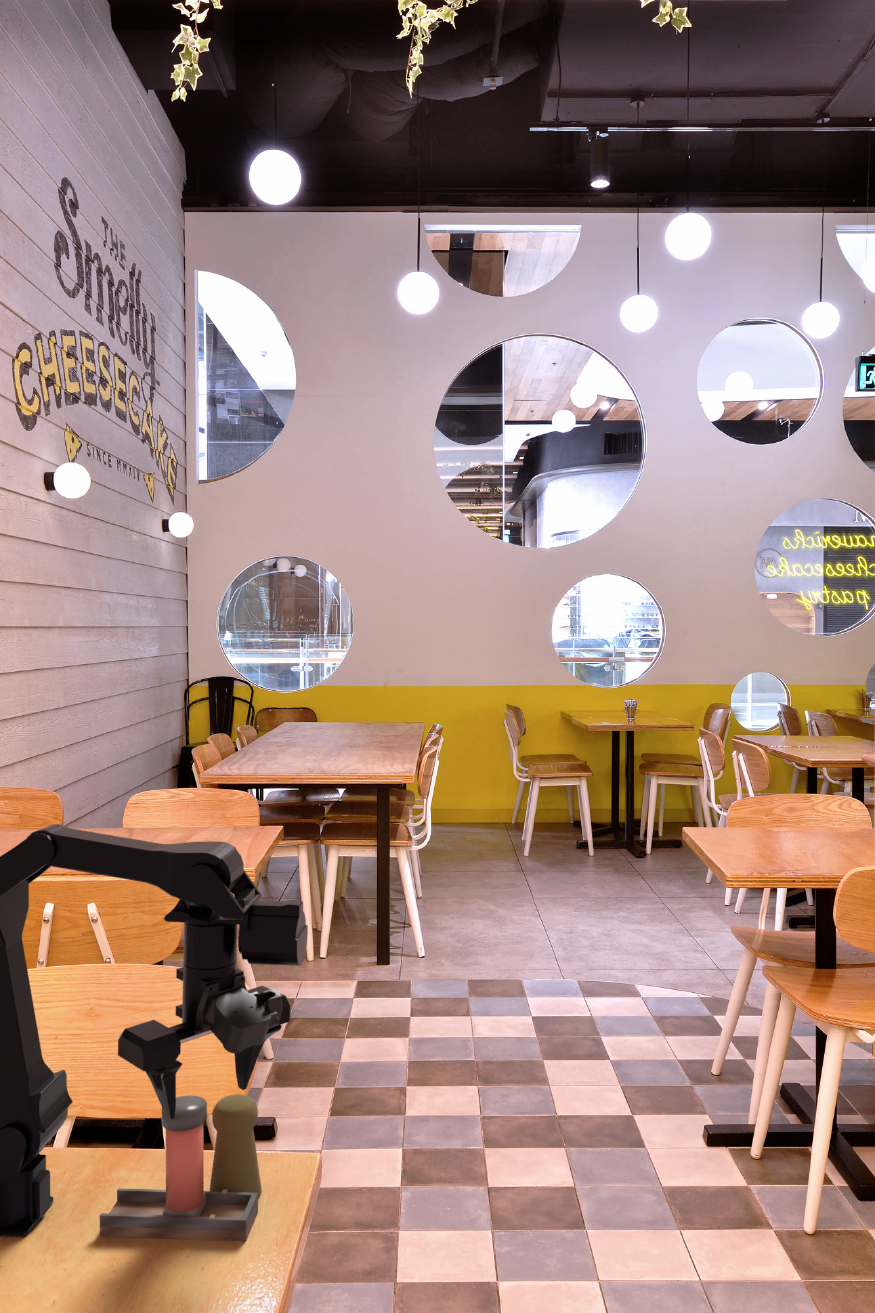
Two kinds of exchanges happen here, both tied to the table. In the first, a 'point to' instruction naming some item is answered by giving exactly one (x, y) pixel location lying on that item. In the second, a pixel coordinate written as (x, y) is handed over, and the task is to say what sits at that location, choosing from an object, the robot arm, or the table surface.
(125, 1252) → the table surface
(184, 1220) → the track
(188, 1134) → the plug
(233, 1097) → the olive rounded upright piece
